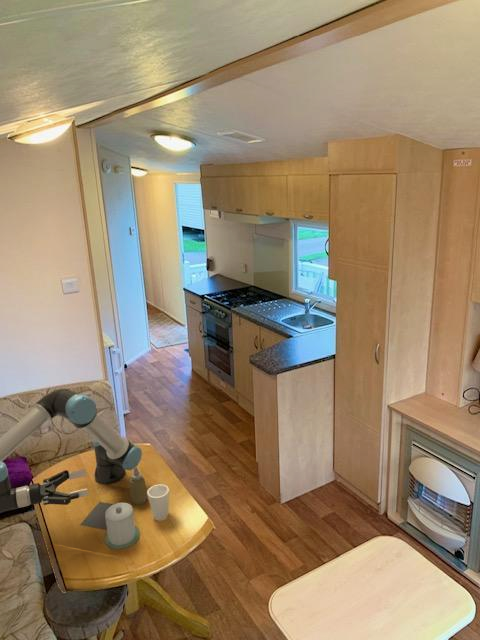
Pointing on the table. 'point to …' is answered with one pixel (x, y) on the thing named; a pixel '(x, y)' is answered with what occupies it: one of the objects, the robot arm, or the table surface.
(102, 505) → the mat
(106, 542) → the green and pink dish
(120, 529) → the lidded canister
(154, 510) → the foam cup
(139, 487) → the squeeze bottle
